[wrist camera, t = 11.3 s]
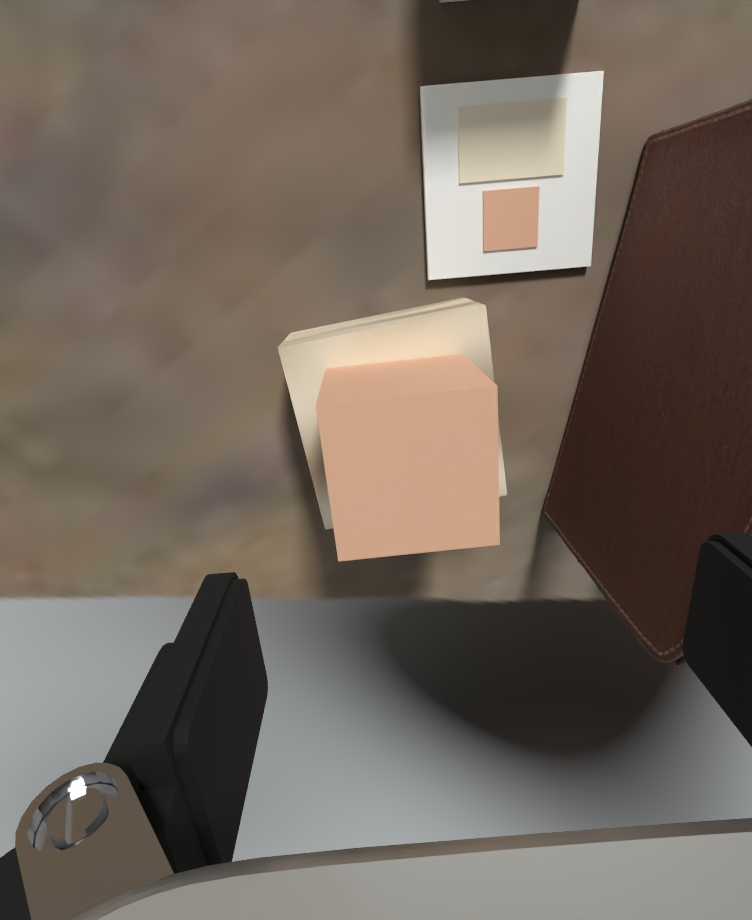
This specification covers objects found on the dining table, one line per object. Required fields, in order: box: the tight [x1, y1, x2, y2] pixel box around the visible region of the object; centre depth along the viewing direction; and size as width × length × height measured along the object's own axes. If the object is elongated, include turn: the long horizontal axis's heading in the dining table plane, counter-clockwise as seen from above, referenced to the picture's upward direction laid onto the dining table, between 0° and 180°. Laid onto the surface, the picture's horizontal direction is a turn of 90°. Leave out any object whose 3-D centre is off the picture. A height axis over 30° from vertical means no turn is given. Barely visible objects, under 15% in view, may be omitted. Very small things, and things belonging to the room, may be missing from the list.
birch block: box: [278, 298, 507, 530], centre depth 26 cm, size 9×9×5 cm
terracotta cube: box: [316, 354, 500, 561], centre depth 21 cm, size 6×6×6 cm
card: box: [420, 71, 604, 280], centre depth 24 cm, size 8×8×1 cm
